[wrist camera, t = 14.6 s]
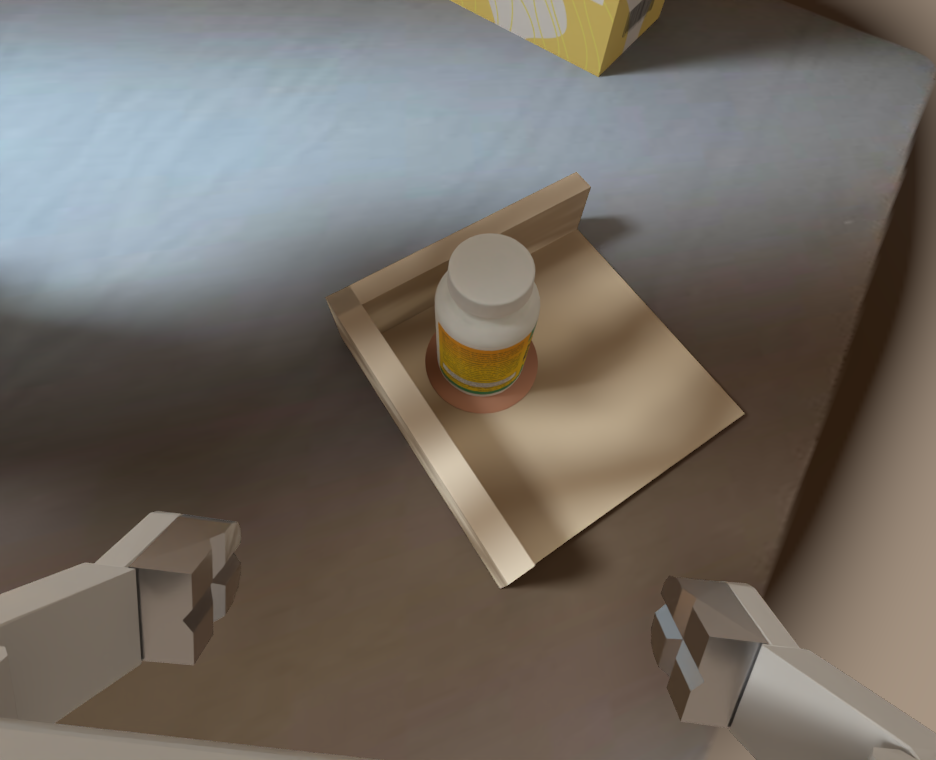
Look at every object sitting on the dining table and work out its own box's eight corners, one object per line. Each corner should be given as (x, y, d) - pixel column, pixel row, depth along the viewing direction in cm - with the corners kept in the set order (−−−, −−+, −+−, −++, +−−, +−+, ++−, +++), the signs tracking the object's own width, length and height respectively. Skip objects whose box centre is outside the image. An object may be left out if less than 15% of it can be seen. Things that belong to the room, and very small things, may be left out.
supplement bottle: (430, 329, 33) (423, 227, 24) (512, 316, 34) (533, 212, 25) (446, 407, 31) (444, 326, 22) (533, 391, 32) (564, 307, 23)
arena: (340, 336, 34) (325, 297, 29) (562, 219, 38) (576, 171, 34) (500, 588, 28) (508, 584, 24) (740, 416, 32) (783, 387, 28)
